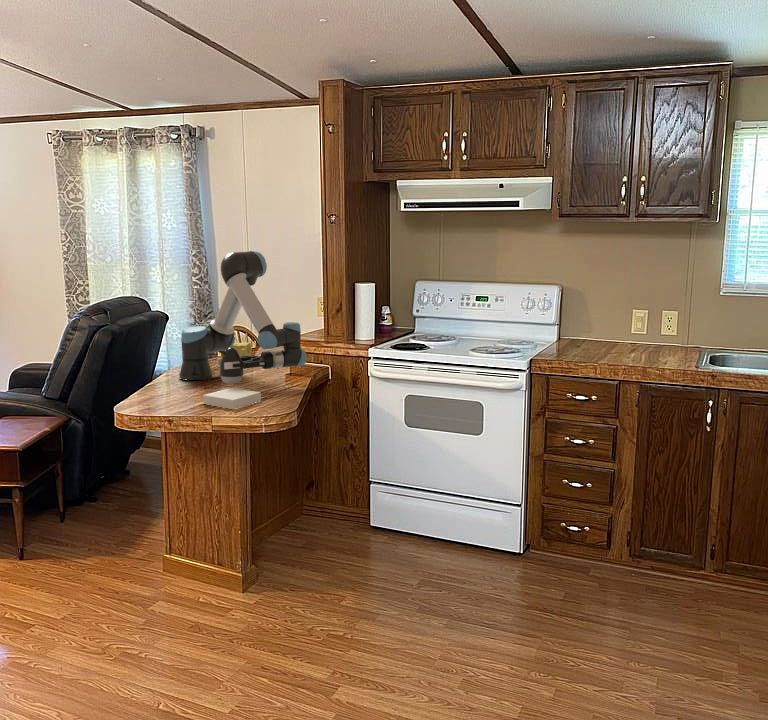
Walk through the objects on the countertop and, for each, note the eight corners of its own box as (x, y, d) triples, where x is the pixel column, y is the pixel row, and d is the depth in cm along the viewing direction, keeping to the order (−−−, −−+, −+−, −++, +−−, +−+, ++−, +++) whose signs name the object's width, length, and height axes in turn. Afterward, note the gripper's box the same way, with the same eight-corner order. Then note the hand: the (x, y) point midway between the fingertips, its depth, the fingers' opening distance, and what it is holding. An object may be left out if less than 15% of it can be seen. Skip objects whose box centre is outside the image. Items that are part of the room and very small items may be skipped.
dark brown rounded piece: (217, 381, 344) (216, 346, 341) (241, 379, 347) (240, 345, 345) (221, 386, 334) (220, 350, 332) (246, 384, 338) (245, 348, 335)
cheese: (244, 365, 403) (244, 345, 401) (224, 364, 405) (224, 345, 403) (252, 361, 413) (251, 342, 411) (232, 360, 415) (232, 341, 413)
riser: (203, 404, 318) (203, 395, 317) (231, 397, 331) (230, 387, 331) (233, 410, 310) (233, 399, 309) (260, 401, 323) (260, 392, 322)
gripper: (280, 372, 339) (229, 377, 328) (263, 363, 358) (213, 368, 347) (280, 355, 337) (228, 359, 327) (262, 347, 356) (213, 351, 346)
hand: (220, 363), depth 337 cm, fingers closed on dark brown rounded piece, 9 cm apart
